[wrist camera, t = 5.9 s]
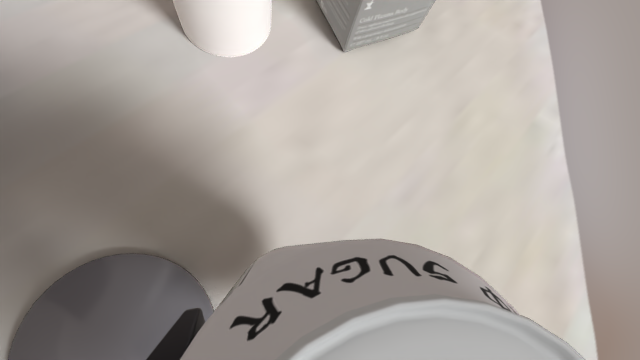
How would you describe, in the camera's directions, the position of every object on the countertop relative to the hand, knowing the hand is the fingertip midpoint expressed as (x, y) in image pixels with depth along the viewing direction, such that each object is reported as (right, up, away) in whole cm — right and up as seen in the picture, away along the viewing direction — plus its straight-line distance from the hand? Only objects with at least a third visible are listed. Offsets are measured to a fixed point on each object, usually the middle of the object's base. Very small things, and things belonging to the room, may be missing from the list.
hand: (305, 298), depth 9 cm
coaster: (-11, -7, +9) cm, 16 cm away
